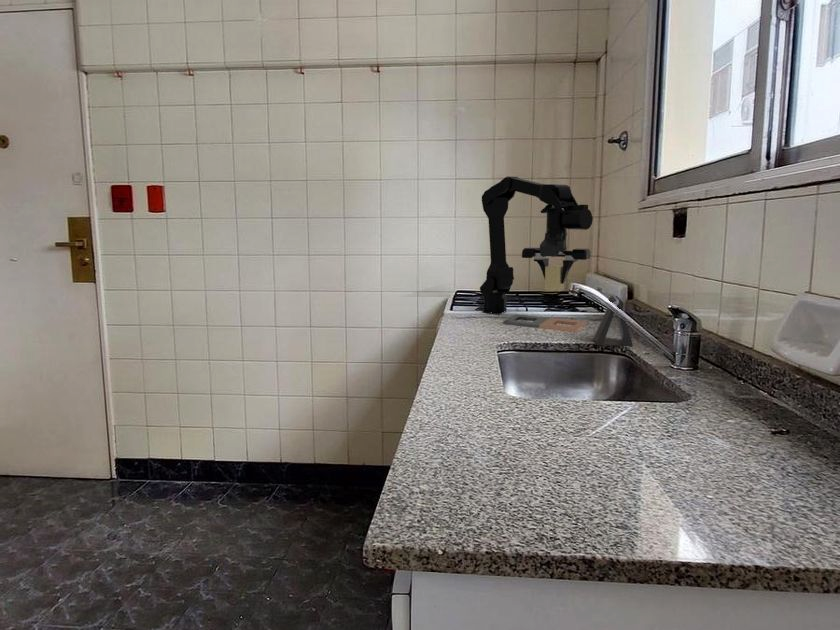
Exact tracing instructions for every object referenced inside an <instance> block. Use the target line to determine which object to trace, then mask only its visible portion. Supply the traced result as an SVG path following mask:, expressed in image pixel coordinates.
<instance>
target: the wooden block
mask: <svg viewBox="0 0 840 630" xmlns="http://www.w3.org/2000/svg"><path fill="white" fill-rule="evenodd" d="M562 272H563V265H554V264H553V265H552V264H550V265H549V266H546V267H545V279H544V291H547V292H561V291H564V290H565V283H564V284H562Z"/></svg>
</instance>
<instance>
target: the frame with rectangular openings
mask: <svg viewBox="0 0 840 630" xmlns="http://www.w3.org/2000/svg"><path fill="white" fill-rule="evenodd" d="M523 320H525V321H523ZM531 321H532V322H531ZM502 324H503V325H510V326H517V327H519V326H520V327H527V328H536V329H537V328H538V329H547V330H555V331H563V332H572V333H574V332H575V333H578V332H579V331H581V330H582V329H583V328H584V327H585V326H586V325H588V321H587V320H585V321H584V320H577V319H566V318H557V317H545V316H535V315H528V314H527V315H525V314H514V315H512V316H511V317H509V318H507V319H504V320H503V322H502ZM562 324H564V325H562ZM571 325H572V326H571Z"/></svg>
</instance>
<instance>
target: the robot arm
mask: <svg viewBox="0 0 840 630" xmlns="http://www.w3.org/2000/svg"><path fill="white" fill-rule="evenodd" d="M517 192H518V193H521V194H525V195H528V196H532V197H535V198H537V199H539V201H540V202H541V203H544V204H546V205H545V206H544V207H543V208H542V209H541V210H540V213H541V214H546V224H545V225H546V227H545V230H546V231H545V232H544V239H543V240H542V242H541V243H539V247H530V246H529V247H524V248H523V249H522V251H521V258H522V259H532V260H533V262H536V263H537V264H538V265H539V267H540V270H541V271H542V275H543V278H544V280H545V267H546V266H549V262H550V261H549V257H552V258H555V257H559V258H560V257H561V258H563V257H564V258H565V259H564V260H562V266H563V272H562V284H564V285H565V282H566V279H567V277H568V275H569V272H570V271H571V268H572V266H573V264H574V263H576V262H578V261H582V260H583V261H586V260H589V259H591V252H592V251H591V250H590V249H589V248H578V247H577V248H573V249H572V250H567V249H568V246H567V237H568V231H567V230H583V231H584V230H585V231H587V230H588V229H590V228H591V226H592V224H593V221H594V217H593V214H592V211H591V210H590V209H589V204H578V202H577V201H576V198H575V197H574V195H573V194H572V193H573V192H572V190H571V187H570V185H567V184H553V183H552V184H551V183H550V184H549V183H548V184H546V183H545V184H544V183H540V182H536V181H532V180H529V179H524V178H520V177H518V176H505V177H504V178H502V179H501V180H500V181H499V182H497V183H495V184H494V185H492V186H491V187H489V188H488V189H487V190H485V191H484V193H482V195H481V204H482V209H483V212H484V213H485V215H486V217H487V219H488V231H489V232H488V234H489V250H490V251H489V254H490V264H489V266H488V269H487V270H486V279H485V281H483V283H482V284H481V286H480V287H479V291H480V294H481V295H484V297H483V310H482V311H483V312H482V313H485V312H492V313H491V314H495V313H501V314H503V313H505V312H507V311H508V310H507V301H508V300H507V298H506V294H509V293H510V291H511V287H512V286H513V283H514V280H515V275H514V267H513V266H509V264H508V262H507V254H506V251H507V250H506V248H507V247H506V232H505V216H506V214H507V212H508V209H509V202H510V201H511V200H512V199H514V197H515V195H516V193H517ZM533 258H534V259H533ZM506 310H507V311H506ZM504 311H505V312H504ZM502 312H503V313H502Z"/></svg>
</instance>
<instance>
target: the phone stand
mask: <svg viewBox="0 0 840 630" xmlns="http://www.w3.org/2000/svg"><path fill="white" fill-rule="evenodd" d="M608 300H609V301H610V302H612V303H613V304H614V302H616V301H617V300H618V303H617V305H615V306H617V307H618V308H619V309H621V310H622V311H623V312H624V302H623V300H622V299H621V298H620V297H619V296H618V295H616V296H615V297H614V296H613V295H610V297H609V298H608ZM608 300H607V301H608ZM615 314H616V313H614V312H613V311H612V310H611V309H609V308H608V307H607V309H606V310H605V313H604V315H603V317H602V319H601V321H600V324H599V326H598V328H597V330H596V332H595V334H594V337H593V340H594V343H595V345H596V346H602V347H603V346H604V347H607V346H608V347H623V346H629V347H628V348H632V347H633V346H634V344H633V341H632V338H631V334H630V330H629V327H628V325H627V322H626V320H625V321H624V320H623V319H622V318H620V317H619V316H618V315H617V314H616V316H617V322H618V325H619V331H620V336H621V339H617V338H615V339H614V338H613V339H612V338H606V337H607V334H608V333H609V330H610V329H609V328H610V326H611V323H612V320H613V317H614V315H615Z"/></svg>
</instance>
